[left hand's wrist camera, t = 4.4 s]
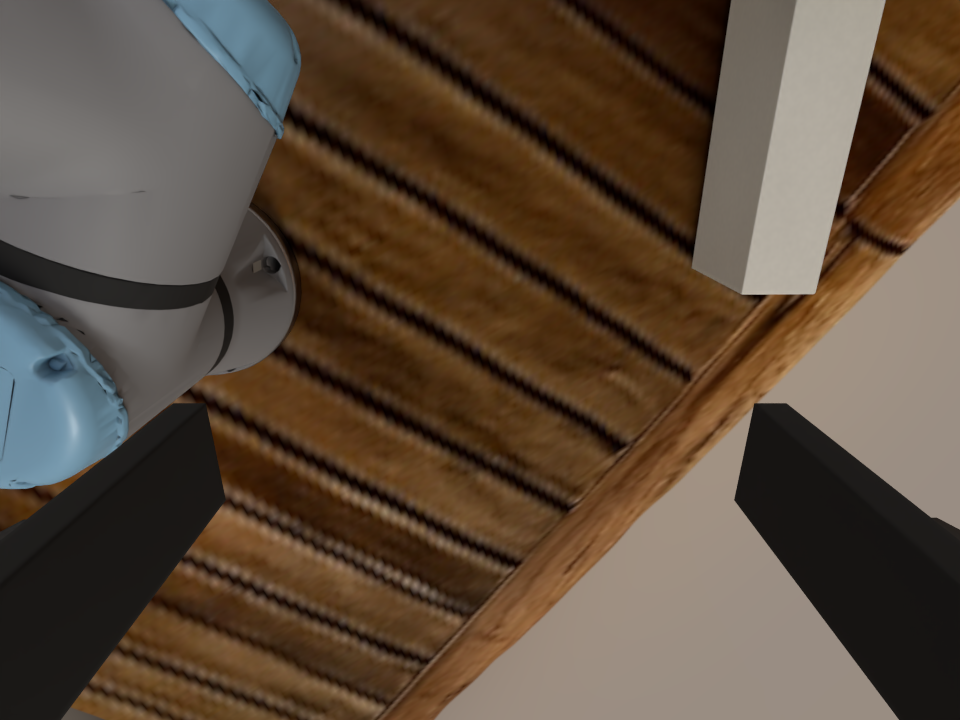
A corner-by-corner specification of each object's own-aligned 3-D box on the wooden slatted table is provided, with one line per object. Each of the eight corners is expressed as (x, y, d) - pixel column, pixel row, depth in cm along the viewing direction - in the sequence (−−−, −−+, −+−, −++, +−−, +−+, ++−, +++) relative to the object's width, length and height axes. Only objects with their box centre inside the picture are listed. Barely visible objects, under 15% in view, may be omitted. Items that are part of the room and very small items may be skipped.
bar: (751, 267, 42) (815, 294, 34) (691, 268, 42) (741, 294, 34) (824, -117, 33) (935, -203, 25) (748, -118, 33) (834, -204, 25)
